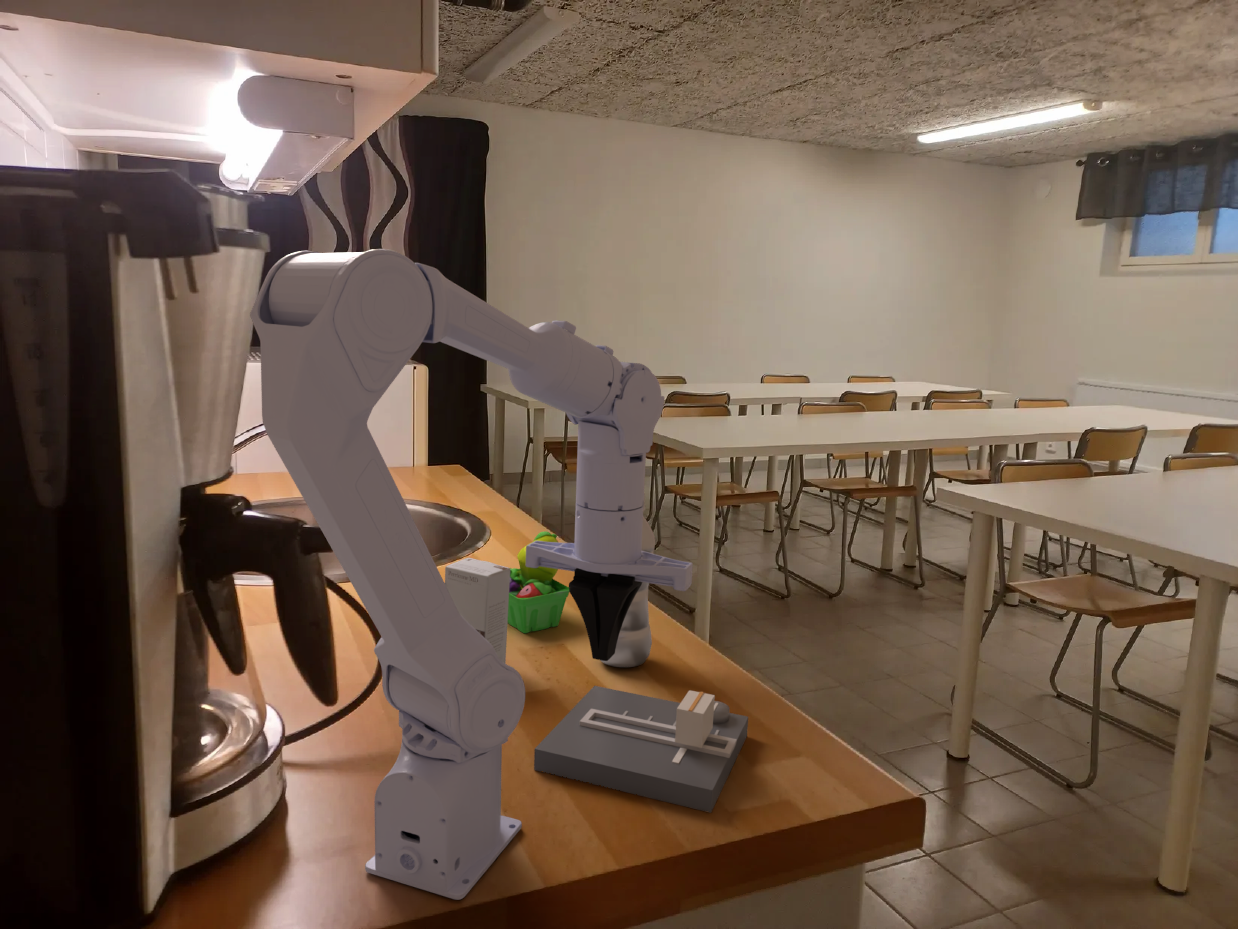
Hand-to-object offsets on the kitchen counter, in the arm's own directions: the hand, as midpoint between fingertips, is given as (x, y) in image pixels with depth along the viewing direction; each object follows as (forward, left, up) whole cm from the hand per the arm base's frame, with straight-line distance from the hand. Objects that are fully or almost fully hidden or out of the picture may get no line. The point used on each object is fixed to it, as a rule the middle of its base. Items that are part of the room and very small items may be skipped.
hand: (603, 655), depth 75 cm
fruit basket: (+30, +22, -11) cm, 39 cm away
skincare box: (+13, +20, -11) cm, 26 cm away
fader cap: (+4, -7, -8) cm, 12 cm away
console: (+4, -3, -10) cm, 12 cm away
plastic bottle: (+22, +6, -11) cm, 25 cm away
